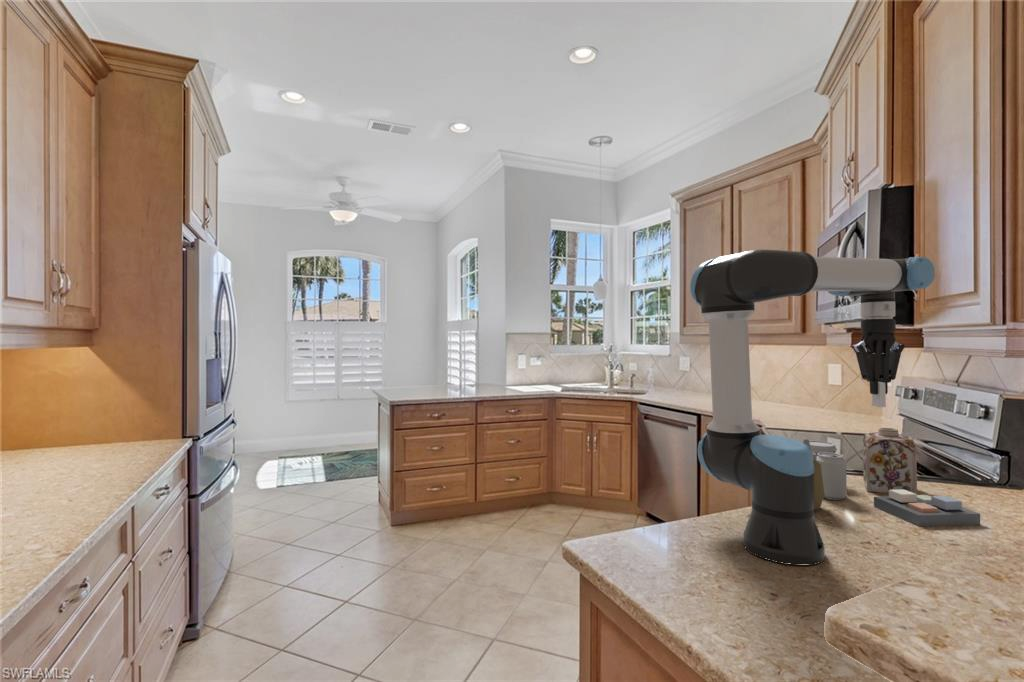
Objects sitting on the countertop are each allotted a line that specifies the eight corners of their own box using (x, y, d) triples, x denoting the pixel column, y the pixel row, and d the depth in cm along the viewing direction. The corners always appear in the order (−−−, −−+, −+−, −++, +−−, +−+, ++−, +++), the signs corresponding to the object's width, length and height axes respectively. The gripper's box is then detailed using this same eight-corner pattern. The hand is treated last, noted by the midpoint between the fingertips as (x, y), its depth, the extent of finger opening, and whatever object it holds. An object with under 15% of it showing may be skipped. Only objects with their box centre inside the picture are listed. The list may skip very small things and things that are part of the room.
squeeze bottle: (783, 501, 136) (782, 436, 136) (813, 501, 136) (812, 436, 136) (800, 512, 128) (799, 442, 128) (831, 512, 127) (830, 442, 127)
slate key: (946, 514, 119) (945, 501, 119) (931, 508, 123) (931, 496, 123) (962, 514, 120) (961, 501, 120) (946, 508, 124) (946, 496, 124)
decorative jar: (917, 498, 138) (916, 433, 138) (866, 491, 144) (865, 430, 144) (910, 487, 148) (910, 427, 148) (863, 481, 154) (862, 423, 154)
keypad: (919, 526, 117) (918, 515, 117) (873, 506, 131) (873, 496, 131) (980, 524, 118) (980, 513, 118) (928, 505, 132) (928, 495, 132)
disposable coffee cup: (837, 480, 156) (836, 442, 156) (837, 488, 148) (837, 447, 148) (802, 476, 161) (801, 439, 161) (800, 483, 153) (800, 444, 153)
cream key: (901, 506, 125) (901, 494, 125) (889, 501, 129) (888, 489, 129) (916, 506, 125) (916, 494, 125) (903, 501, 129) (903, 489, 129)
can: (851, 501, 136) (851, 457, 136) (821, 499, 137) (821, 456, 137) (839, 493, 143) (839, 451, 143) (811, 491, 144) (810, 450, 144)
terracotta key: (922, 521, 119) (921, 508, 119) (908, 515, 123) (908, 503, 123) (938, 521, 119) (937, 508, 119) (923, 515, 123) (923, 502, 123)
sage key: (924, 512, 125) (924, 499, 125) (911, 507, 129) (911, 495, 129) (939, 511, 126) (939, 499, 126) (926, 506, 130) (926, 494, 130)
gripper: (864, 318, 128) (865, 408, 128) (913, 317, 129) (914, 408, 129) (844, 319, 136) (845, 405, 136) (890, 318, 136) (891, 404, 136)
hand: (878, 406), depth 132 cm, fingers closed
